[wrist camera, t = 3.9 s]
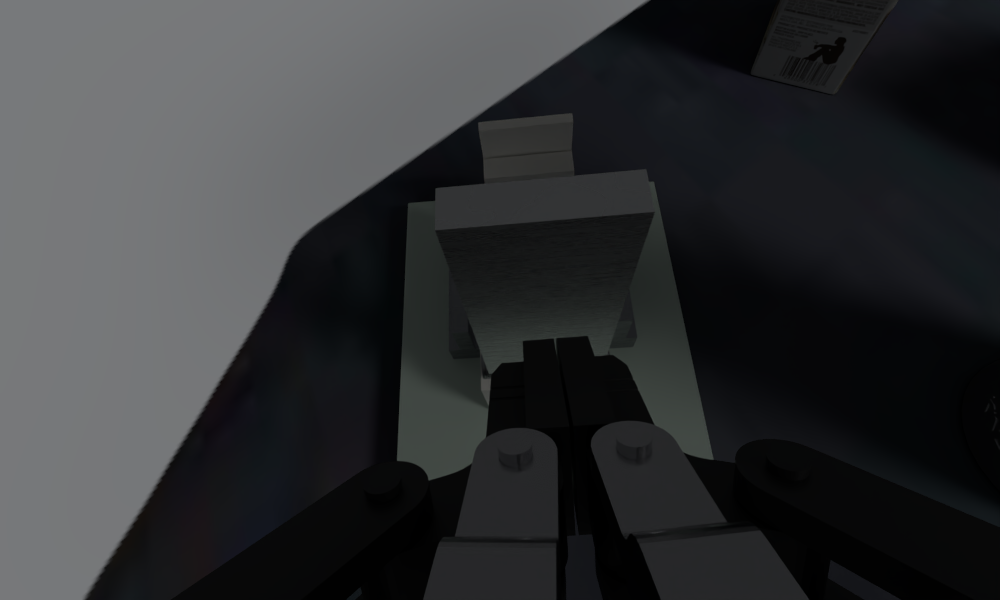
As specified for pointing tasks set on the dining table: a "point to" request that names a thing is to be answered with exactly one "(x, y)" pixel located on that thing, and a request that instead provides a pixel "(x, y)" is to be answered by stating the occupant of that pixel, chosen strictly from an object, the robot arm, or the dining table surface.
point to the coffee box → (818, 40)
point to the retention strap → (544, 257)
